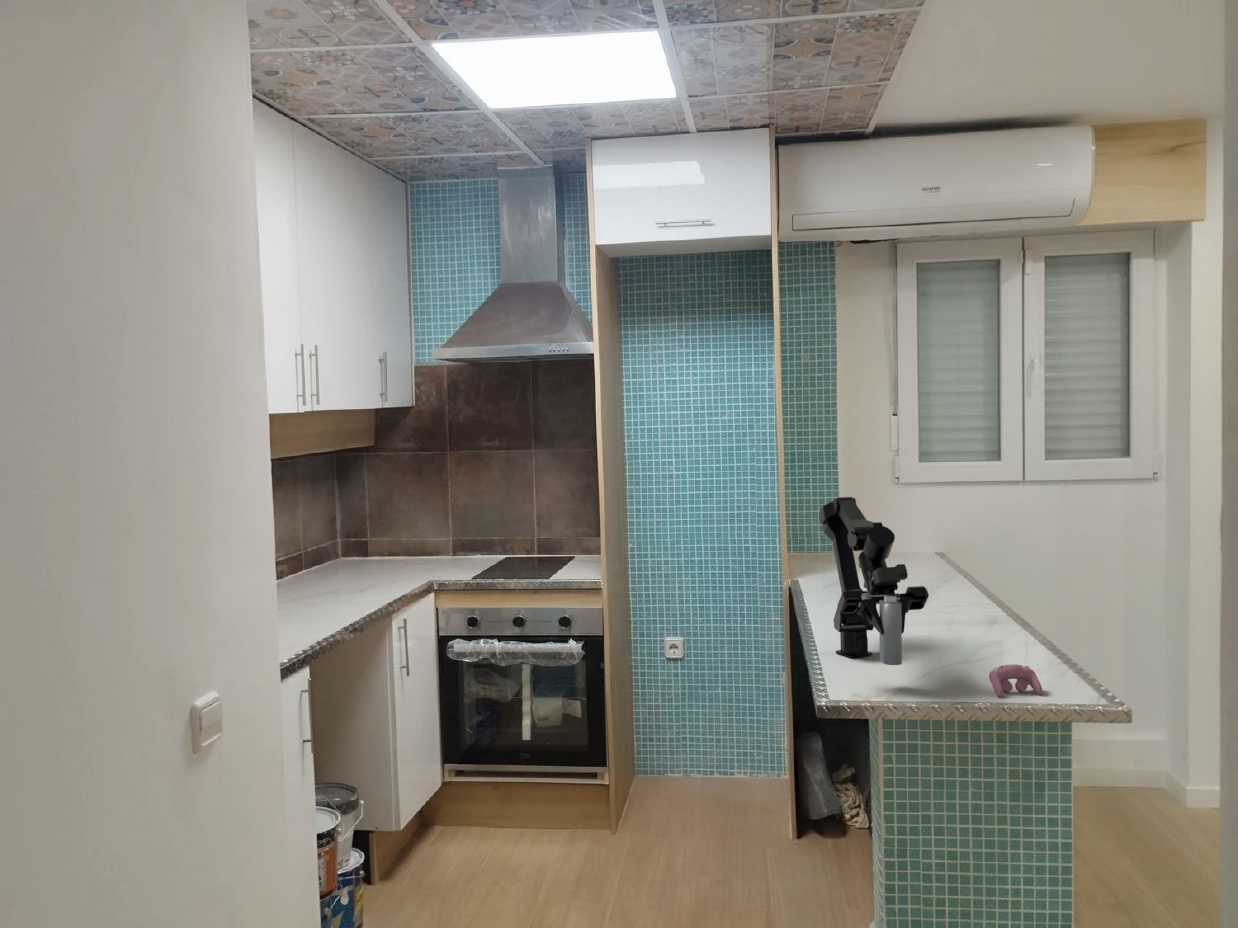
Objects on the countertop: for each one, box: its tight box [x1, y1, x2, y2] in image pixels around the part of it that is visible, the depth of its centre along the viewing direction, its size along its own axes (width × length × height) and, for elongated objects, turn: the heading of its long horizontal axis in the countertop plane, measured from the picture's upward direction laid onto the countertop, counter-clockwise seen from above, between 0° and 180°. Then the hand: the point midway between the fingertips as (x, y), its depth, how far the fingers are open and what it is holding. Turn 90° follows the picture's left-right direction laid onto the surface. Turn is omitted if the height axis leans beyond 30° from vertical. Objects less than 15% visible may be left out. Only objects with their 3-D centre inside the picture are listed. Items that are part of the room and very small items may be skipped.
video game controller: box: [988, 663, 1043, 698], centre depth 213 cm, size 10×5×7 cm, turn 93°
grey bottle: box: [878, 596, 903, 666], centre depth 218 cm, size 6×4×14 cm, turn 3°
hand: (892, 632), depth 217 cm, fingers closed on grey bottle, 4 cm apart
